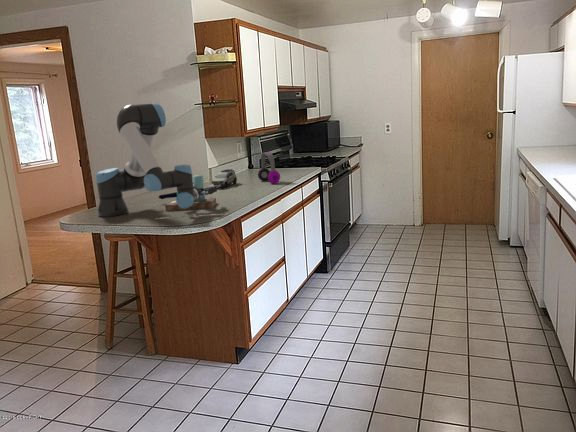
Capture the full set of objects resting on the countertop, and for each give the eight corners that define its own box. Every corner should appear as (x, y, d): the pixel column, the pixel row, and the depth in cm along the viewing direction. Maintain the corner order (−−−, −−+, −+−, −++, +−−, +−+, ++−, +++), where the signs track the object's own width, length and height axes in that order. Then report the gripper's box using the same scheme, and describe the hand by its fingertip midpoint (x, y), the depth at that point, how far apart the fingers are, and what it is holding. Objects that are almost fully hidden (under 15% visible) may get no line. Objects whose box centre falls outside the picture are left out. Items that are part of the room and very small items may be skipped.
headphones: (257, 181, 341) (254, 152, 336) (269, 179, 344) (266, 150, 340) (269, 184, 322) (266, 153, 318) (281, 183, 326) (279, 152, 321)
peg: (195, 207, 259) (191, 176, 255) (197, 205, 264) (193, 175, 260) (204, 206, 258) (201, 176, 255) (206, 205, 263) (203, 174, 260)
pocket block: (166, 212, 256) (165, 204, 255) (172, 208, 268) (171, 200, 267) (212, 209, 255) (211, 201, 254) (216, 205, 267) (215, 197, 266)
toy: (162, 200, 301) (157, 207, 272) (160, 186, 300) (156, 192, 271) (213, 195, 306) (215, 201, 277) (212, 181, 305) (213, 187, 275)
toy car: (209, 190, 320) (207, 174, 318) (220, 183, 344) (219, 169, 342) (229, 189, 318) (227, 173, 316) (238, 182, 342) (237, 168, 339)
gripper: (166, 204, 241) (177, 196, 262) (217, 201, 240) (224, 193, 261) (164, 189, 240) (175, 182, 260) (216, 185, 238) (223, 179, 259)
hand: (200, 187), depth 261 cm, fingers open, 13 cm apart
